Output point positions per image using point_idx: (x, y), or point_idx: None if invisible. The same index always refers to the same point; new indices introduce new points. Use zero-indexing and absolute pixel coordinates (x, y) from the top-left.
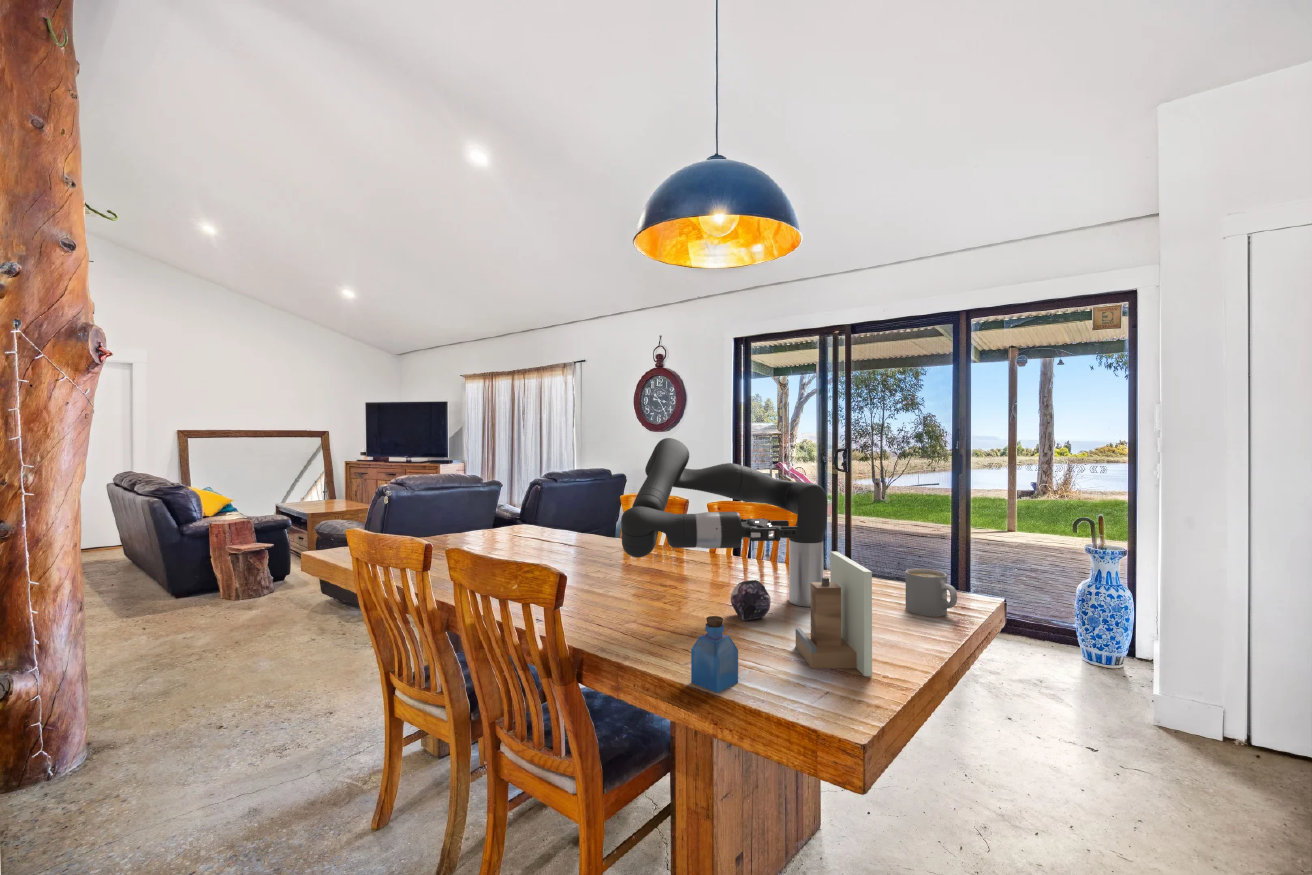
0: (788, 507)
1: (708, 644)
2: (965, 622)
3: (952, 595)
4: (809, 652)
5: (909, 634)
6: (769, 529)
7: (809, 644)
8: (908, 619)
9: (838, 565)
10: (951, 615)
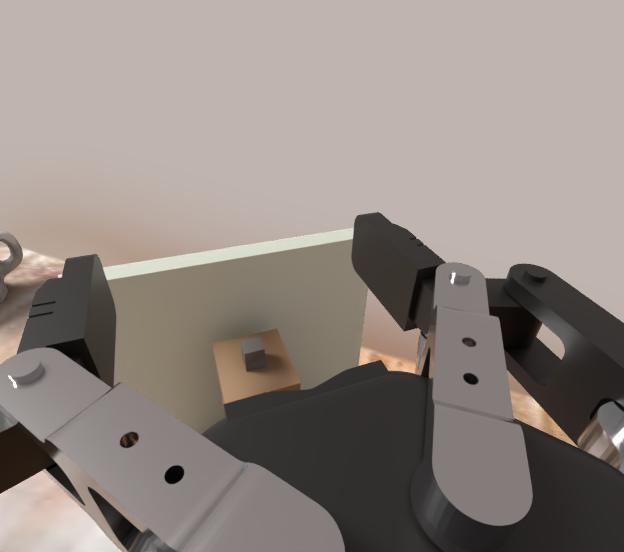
0: None
1: None
2: (54, 270)
3: (17, 244)
4: None
5: None
6: (605, 318)
7: None
8: (11, 330)
9: (163, 297)
10: (9, 279)
